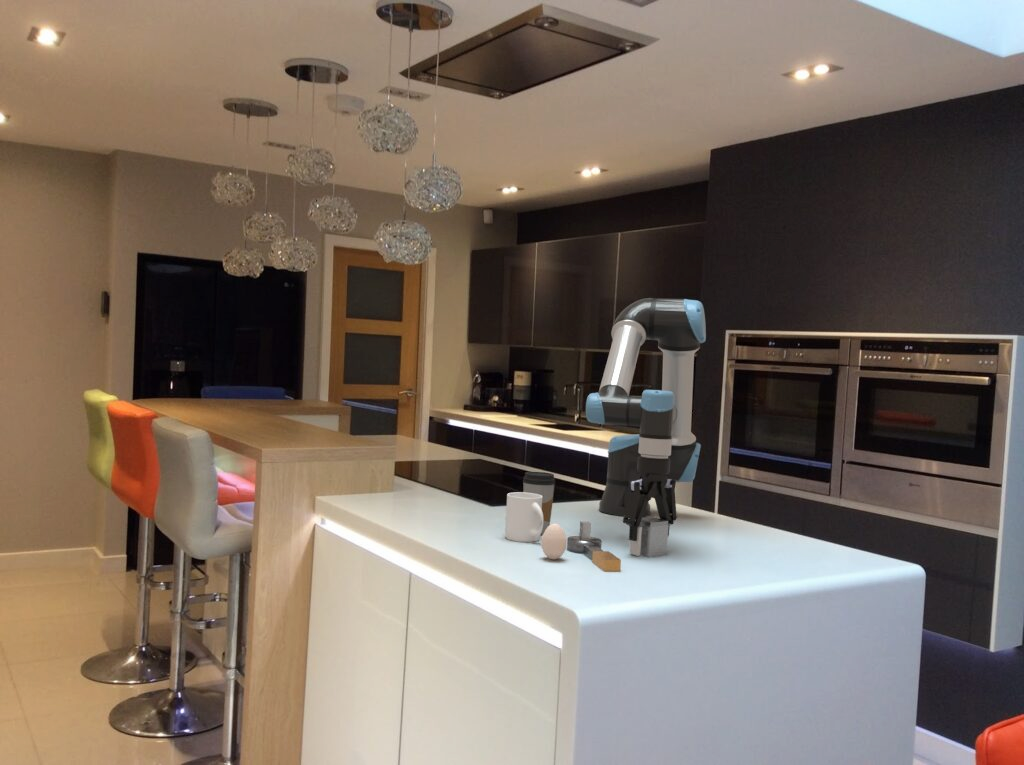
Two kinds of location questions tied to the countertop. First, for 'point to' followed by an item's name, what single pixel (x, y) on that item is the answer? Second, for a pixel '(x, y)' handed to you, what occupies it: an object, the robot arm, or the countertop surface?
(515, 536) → the mug
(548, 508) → the coffee cup
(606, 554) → the ratchet
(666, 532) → the grey rectangular block
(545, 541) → the egg
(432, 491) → the countertop surface
